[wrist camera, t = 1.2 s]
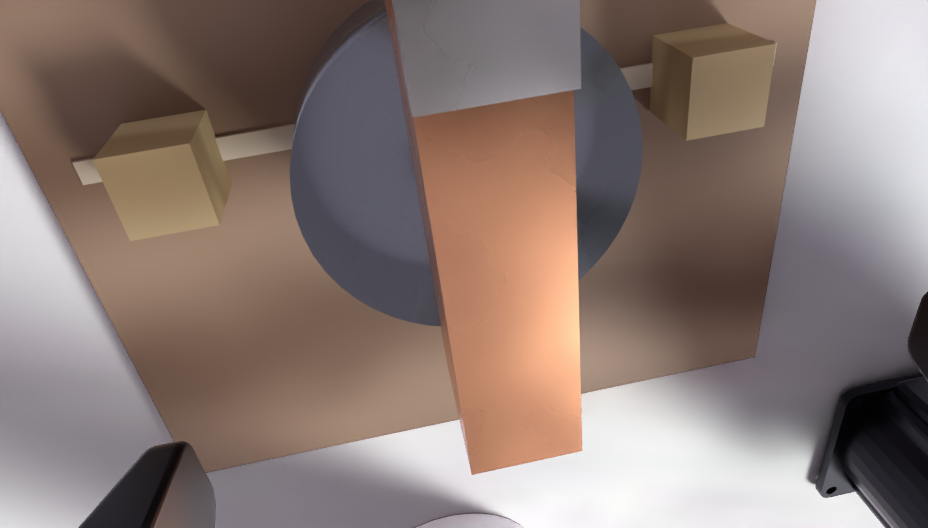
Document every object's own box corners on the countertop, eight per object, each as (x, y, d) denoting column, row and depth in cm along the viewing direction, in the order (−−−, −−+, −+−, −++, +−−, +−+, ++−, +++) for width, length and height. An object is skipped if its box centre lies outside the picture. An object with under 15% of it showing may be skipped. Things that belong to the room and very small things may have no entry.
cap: (602, 275, 17) (705, 434, 13) (343, 326, 17) (348, 512, 12) (603, -107, 13) (771, -84, 8) (239, -53, 12) (176, 7, 7)
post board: (740, 339, 24) (790, 399, 22) (197, 452, 23) (178, 532, 20) (878, -558, 12) (1030, -674, 10) (-258, -453, 11) (-458, -557, 8)
